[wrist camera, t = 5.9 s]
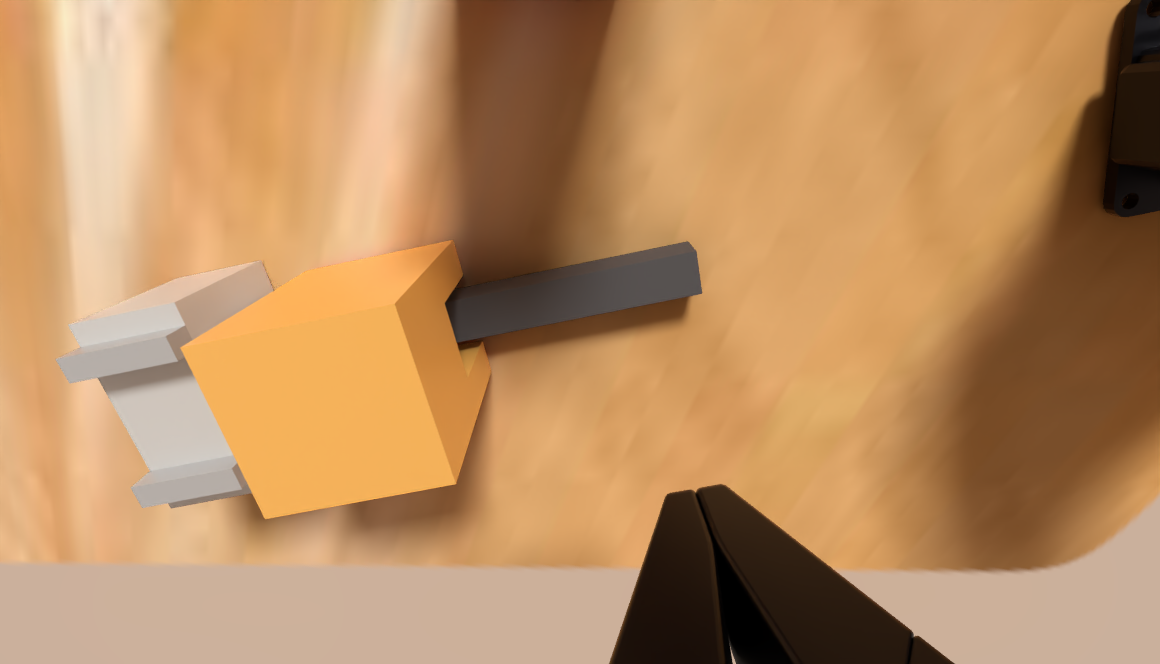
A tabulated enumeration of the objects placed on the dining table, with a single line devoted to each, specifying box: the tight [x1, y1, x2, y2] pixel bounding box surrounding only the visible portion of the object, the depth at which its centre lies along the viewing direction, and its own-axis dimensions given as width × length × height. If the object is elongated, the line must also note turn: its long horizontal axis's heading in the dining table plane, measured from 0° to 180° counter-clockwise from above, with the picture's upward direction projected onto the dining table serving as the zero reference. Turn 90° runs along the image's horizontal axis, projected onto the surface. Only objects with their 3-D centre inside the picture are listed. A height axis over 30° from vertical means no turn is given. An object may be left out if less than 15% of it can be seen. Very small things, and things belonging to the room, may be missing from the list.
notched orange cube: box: [180, 240, 491, 519], centre depth 17 cm, size 5×5×7 cm
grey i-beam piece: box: [56, 260, 274, 508], centre depth 18 cm, size 3×6×5 cm, turn 12°
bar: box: [445, 242, 702, 342], centre depth 19 cm, size 17×1×1 cm, turn 102°
